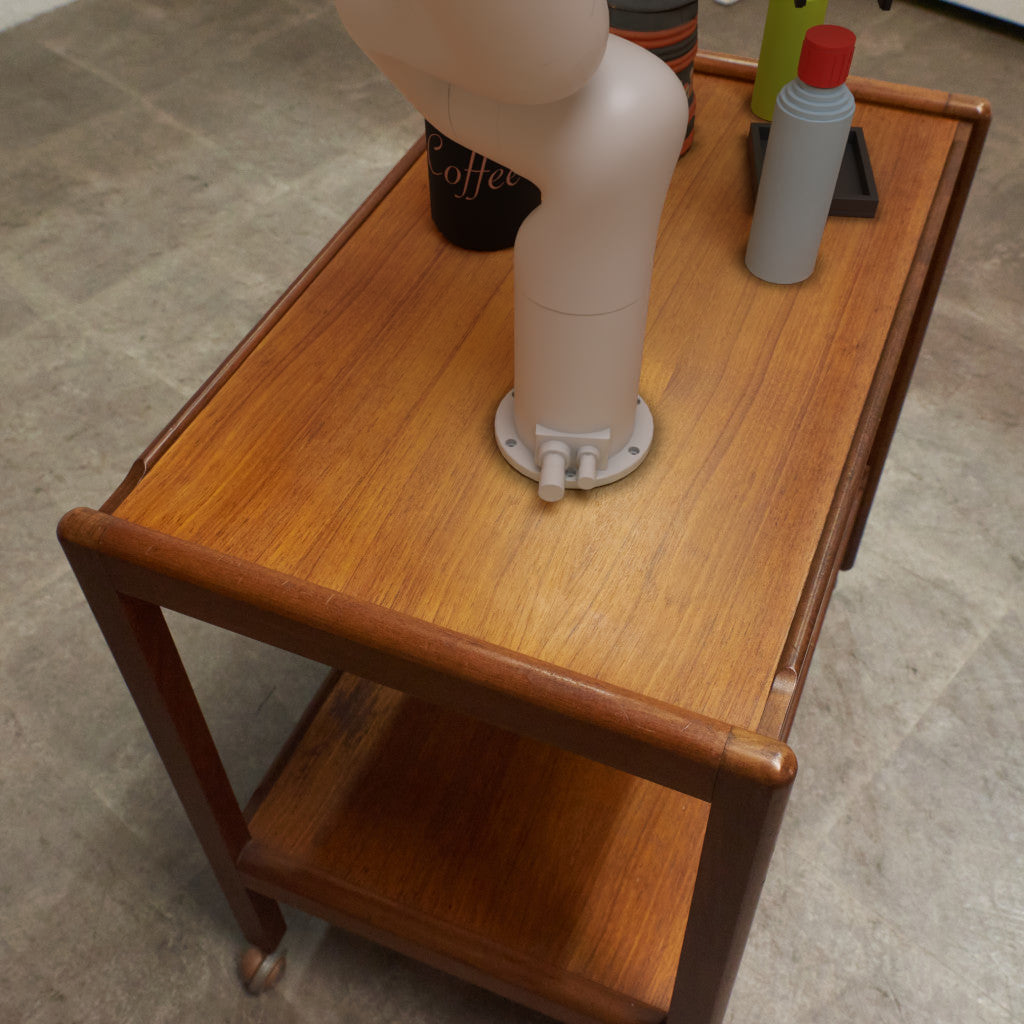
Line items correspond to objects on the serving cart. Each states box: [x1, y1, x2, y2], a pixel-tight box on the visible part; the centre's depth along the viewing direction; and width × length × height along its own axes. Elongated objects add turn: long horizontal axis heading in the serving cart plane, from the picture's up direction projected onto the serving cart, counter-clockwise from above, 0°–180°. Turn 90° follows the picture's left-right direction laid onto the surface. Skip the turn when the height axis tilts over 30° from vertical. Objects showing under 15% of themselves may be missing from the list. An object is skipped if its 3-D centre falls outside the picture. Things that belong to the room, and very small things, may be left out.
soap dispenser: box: [750, 0, 830, 122], centre depth 111 cm, size 6×7×20 cm
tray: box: [747, 121, 880, 219], centre depth 108 cm, size 14×12×2 cm
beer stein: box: [607, 0, 699, 159], centre depth 107 cm, size 19×15×20 cm
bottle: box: [744, 76, 856, 285], centre depth 92 cm, size 6×6×21 cm
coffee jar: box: [423, 117, 542, 253], centre depth 97 cm, size 11×11×18 cm
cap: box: [797, 23, 857, 88], centre depth 84 cm, size 4×4×3 cm
